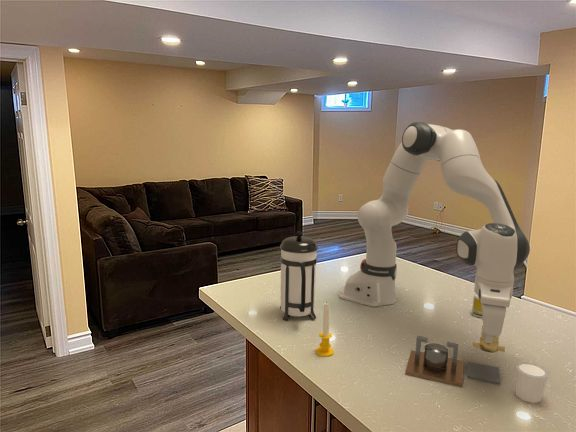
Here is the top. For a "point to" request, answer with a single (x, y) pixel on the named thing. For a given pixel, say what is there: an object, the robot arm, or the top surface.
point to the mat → (483, 373)
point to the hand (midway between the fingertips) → (488, 337)
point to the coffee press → (298, 276)
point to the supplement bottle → (477, 307)
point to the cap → (488, 344)
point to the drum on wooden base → (435, 363)
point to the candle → (325, 335)
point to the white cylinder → (530, 382)
